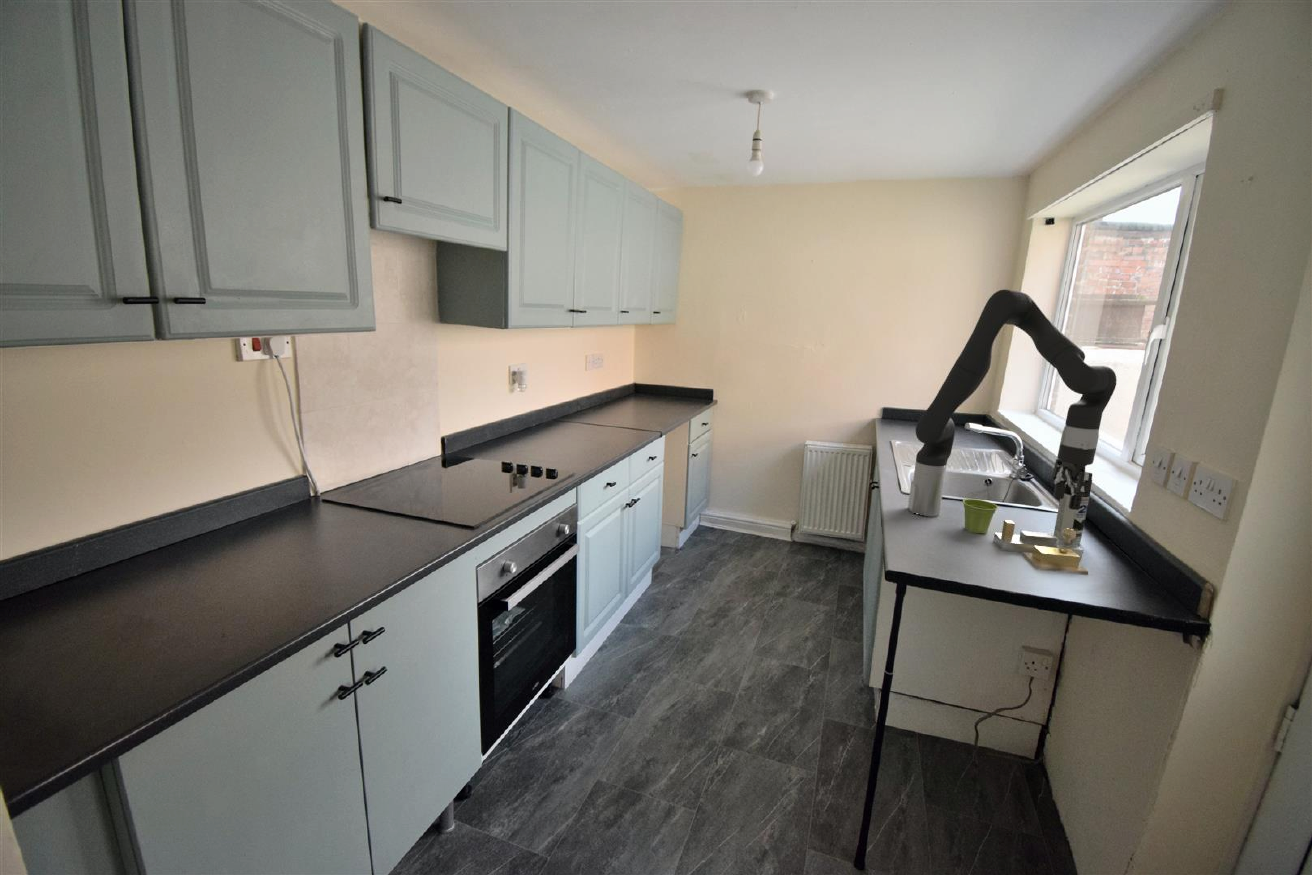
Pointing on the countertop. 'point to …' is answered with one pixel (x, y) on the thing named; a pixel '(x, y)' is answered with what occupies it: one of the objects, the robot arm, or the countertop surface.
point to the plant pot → (978, 515)
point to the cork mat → (1053, 566)
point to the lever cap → (1056, 556)
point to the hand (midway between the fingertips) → (1065, 503)
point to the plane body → (1034, 540)
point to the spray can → (1071, 516)
